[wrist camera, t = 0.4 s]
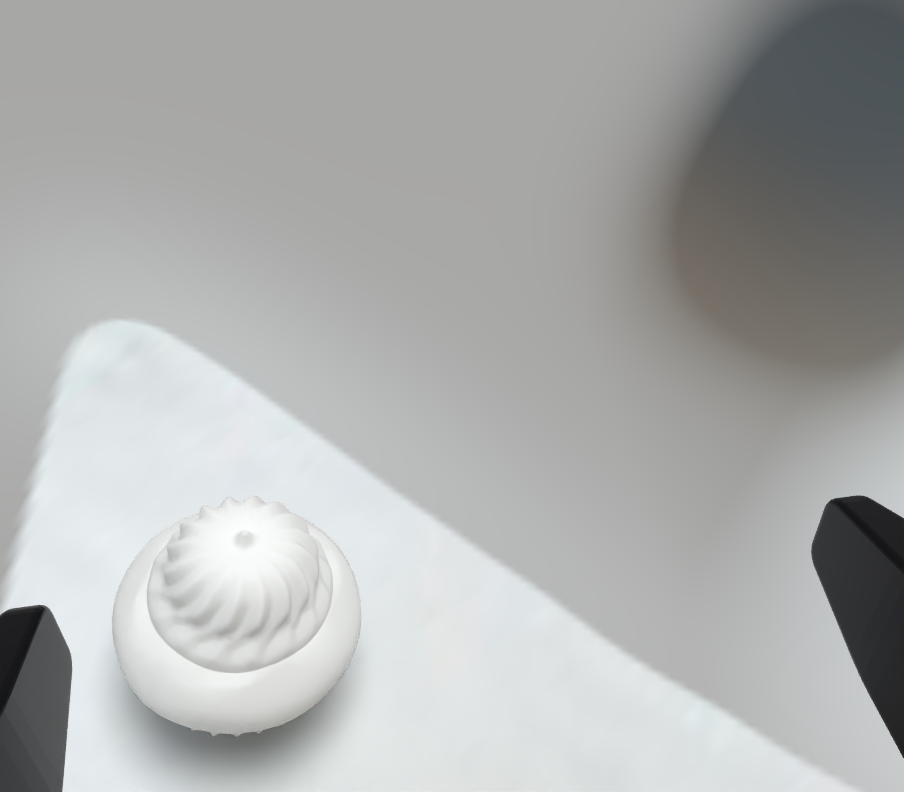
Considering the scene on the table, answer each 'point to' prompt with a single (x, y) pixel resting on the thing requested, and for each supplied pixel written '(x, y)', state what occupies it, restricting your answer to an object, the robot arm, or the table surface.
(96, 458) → the table surface
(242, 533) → the muffin
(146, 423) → the table surface
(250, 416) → the table surface
